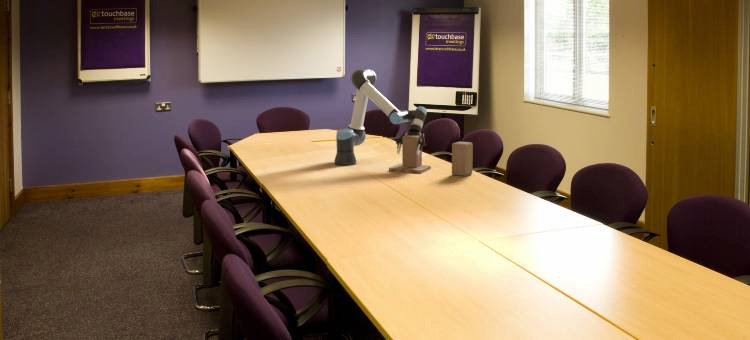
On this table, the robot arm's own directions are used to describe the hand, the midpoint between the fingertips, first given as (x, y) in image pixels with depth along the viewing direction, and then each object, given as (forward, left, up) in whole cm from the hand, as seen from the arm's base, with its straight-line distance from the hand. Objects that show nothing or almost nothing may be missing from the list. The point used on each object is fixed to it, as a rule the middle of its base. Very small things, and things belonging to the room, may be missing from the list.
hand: (407, 153), depth 449 cm
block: (+36, +1, -12) cm, 38 cm away
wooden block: (0, +7, -10) cm, 12 cm away
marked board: (0, +4, -11) cm, 12 cm away
